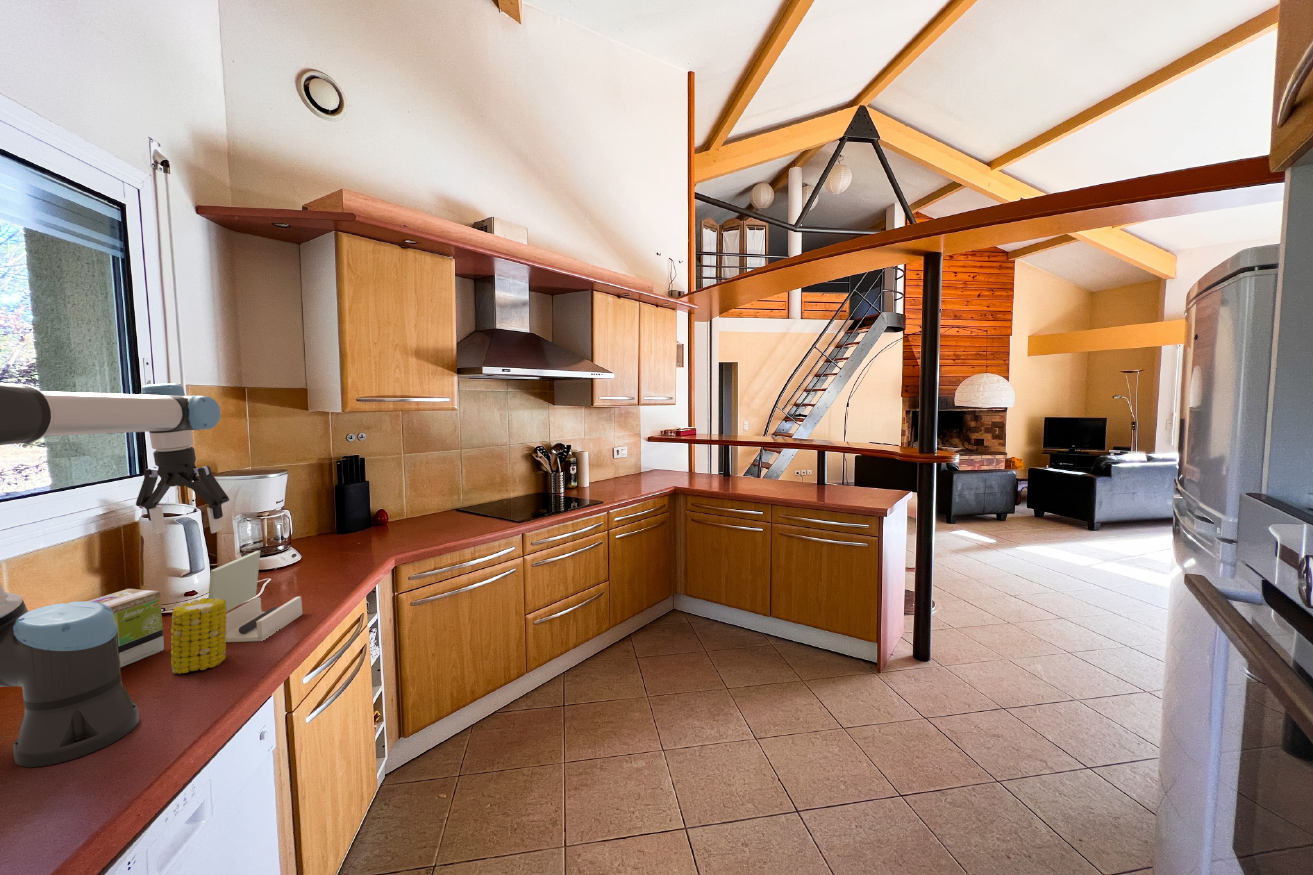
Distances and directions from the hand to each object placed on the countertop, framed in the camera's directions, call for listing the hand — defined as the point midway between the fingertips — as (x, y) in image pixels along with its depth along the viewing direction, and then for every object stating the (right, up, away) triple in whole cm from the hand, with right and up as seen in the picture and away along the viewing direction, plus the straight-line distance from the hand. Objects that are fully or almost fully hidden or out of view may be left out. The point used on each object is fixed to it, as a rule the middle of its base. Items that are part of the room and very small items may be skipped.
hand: (188, 532), depth 135 cm
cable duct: (+14, -26, +6) cm, 30 cm away
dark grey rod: (+14, -25, +6) cm, 29 cm away
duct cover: (+8, -14, +5) cm, 17 cm away
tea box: (-7, -28, -12) cm, 31 cm away
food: (+14, -28, -13) cm, 34 cm away
